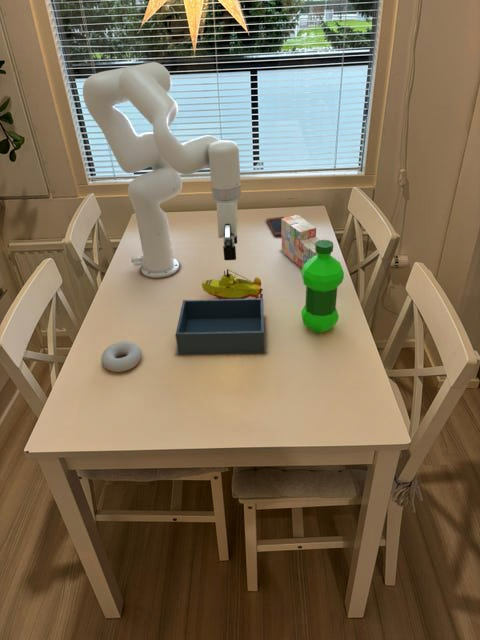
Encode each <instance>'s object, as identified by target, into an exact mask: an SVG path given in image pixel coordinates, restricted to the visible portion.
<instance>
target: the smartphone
mask: <svg viewBox="0 0 480 640" xmlns="http://www.w3.org/2000/svg"><path fill="white" fill-rule="evenodd" d="M282 218H285V216H277V217H269V218H266V222H267V224H268V226H269V228H270V230H271V231H272V233H273V235H274V237H282V234H281V232H282V231H281V227H282V223H281V219H282Z"/></svg>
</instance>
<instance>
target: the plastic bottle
mask: <svg viewBox="0 0 480 640" xmlns="http://www.w3.org/2000/svg"><path fill="white" fill-rule="evenodd" d="M315 250H316V252H317V255H316V256H314V257H313V258H311V259H310V260H308V261H307V262H306V263H305V264H304V265H303V267H302V268H301V277H302V282H303V285H304V286H305V302H304V306H303V307H302V310H301V313H300V314H301V318H302V323H303V325H304V326H305V327H306V328H308V329H309V330H311V331H312V332H314V333H319V334H320V333H321V334H322V333H324V332H327V331H329V330H331V329H333V327H334V326H335V325H336V324H337V323H338V321H339V312H338V310H337V295H338V287H339V286H340V285H341V284H342V283H343V281H344V277H345V272H344V269H343V266H342V264H341V262H340V261H339V260H338V259H336V258H335V257H334V256H332V255H331V256H330V253H331V254H332V253H333V252H334V242H333V241H331V240H329V239H320V240H319V241H317V242H316V243H315Z"/></svg>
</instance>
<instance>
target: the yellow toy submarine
mask: <svg viewBox="0 0 480 640" xmlns="http://www.w3.org/2000/svg"><path fill="white" fill-rule="evenodd" d="M229 272H231V273H233V274H231V273H229ZM236 276H239V277H241V278H236ZM242 278H243V279H242ZM201 286H202V290H203V291H204V292H205V293H206V294H209V295H210V296H213V297H215V298H218V299H248V298H250V297H251V298H254V299H257V298H260V299H261V298H263V297H264V293H262V292H263V290H264V289H263V288H262V280H261V279H260V277H259V276H255V278H254V279H253V281H252V280H250V279H248V278H246V277H244V276H242V275H240V274H238V273H237V272H233V271H232V270H230V269H229V268H227V269H226V270H223V275H222V276H221V277H220V279H207V280H203V281H202V283H201Z"/></svg>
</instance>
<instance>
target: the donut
mask: <svg viewBox="0 0 480 640" xmlns="http://www.w3.org/2000/svg"><path fill="white" fill-rule="evenodd" d="M122 355H124V356H122ZM119 356H122V357H119ZM141 358H142V350H141V348H140V347H139V345H137V344H136V343H134V342H132V341H131V342H130V341H118V342H115V343H113V344H110V345H109V346H107V347H106V348H105V350H103V352H102V354H101V363H102V365H103V367H104V368H105V369H107V370H108V371H111V372H114V373H117V372H118V373H121V372H126V371H128V370H132V369H133V368H135V367H136V366H137V365H138V364H139V362H140V361H141Z"/></svg>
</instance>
